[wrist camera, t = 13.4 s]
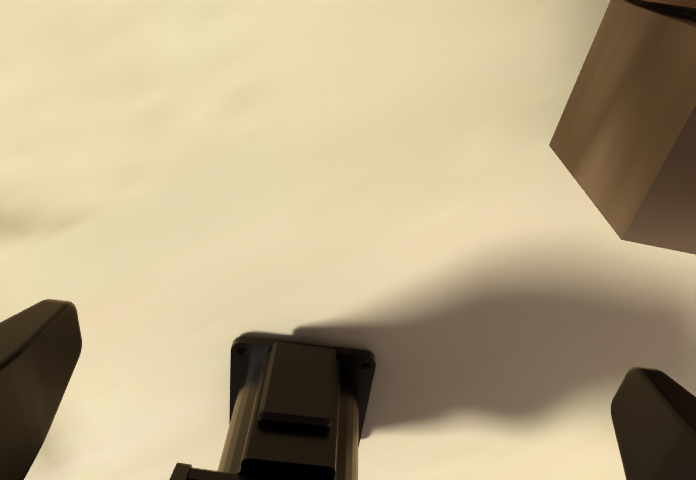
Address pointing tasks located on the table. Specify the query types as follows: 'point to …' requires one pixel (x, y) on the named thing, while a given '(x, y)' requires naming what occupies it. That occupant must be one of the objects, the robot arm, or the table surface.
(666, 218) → the mallet
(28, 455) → the robot arm
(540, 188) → the table surface
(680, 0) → the plank
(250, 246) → the table surface
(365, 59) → the table surface
